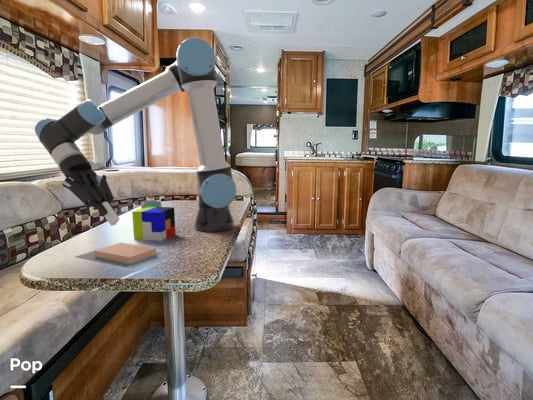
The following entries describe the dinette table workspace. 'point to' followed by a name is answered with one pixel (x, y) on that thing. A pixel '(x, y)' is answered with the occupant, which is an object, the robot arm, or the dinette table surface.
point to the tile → (125, 253)
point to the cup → (151, 203)
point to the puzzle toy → (154, 223)
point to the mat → (92, 257)
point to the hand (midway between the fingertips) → (115, 222)
